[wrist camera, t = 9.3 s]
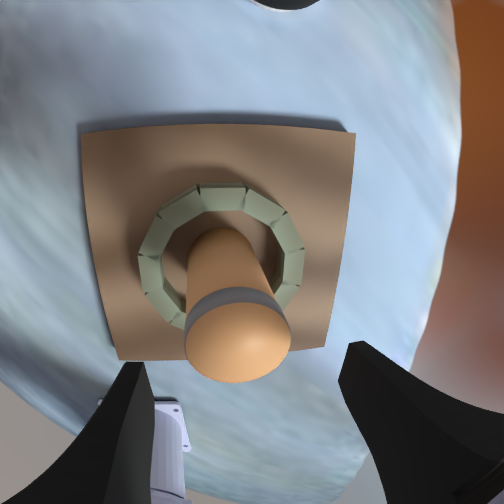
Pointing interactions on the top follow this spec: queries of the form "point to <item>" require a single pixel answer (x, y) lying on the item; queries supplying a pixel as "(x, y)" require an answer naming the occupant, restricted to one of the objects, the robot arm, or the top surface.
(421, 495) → the robot arm
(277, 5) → the dixie cup
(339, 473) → the top surface
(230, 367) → the peg
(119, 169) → the dock socket
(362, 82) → the top surface
